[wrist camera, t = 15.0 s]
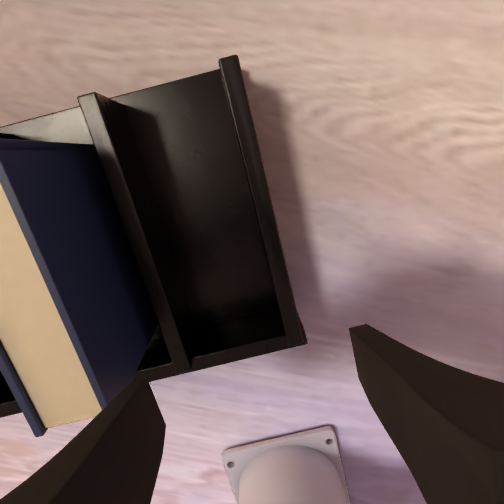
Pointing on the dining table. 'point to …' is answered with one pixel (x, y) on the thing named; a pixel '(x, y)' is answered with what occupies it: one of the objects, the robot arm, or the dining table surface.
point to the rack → (188, 217)
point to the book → (66, 285)
